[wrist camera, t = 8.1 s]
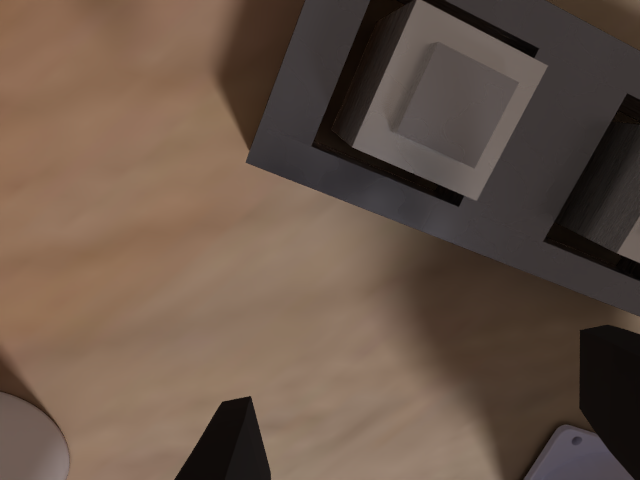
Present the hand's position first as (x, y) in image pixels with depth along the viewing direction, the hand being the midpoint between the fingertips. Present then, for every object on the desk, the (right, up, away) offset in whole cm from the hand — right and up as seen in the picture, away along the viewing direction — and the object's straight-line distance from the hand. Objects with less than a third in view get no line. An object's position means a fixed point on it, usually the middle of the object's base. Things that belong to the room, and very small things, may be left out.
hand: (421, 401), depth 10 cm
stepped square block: (+1, +9, +7) cm, 11 cm away
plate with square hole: (+5, +7, +8) cm, 12 cm away
